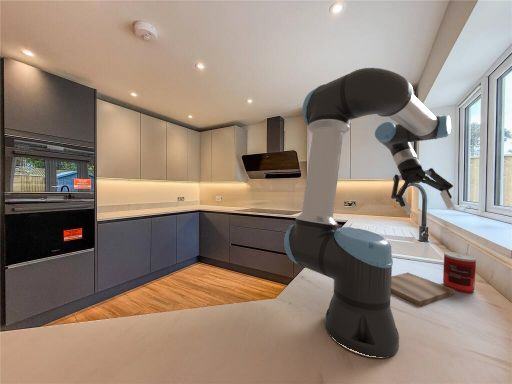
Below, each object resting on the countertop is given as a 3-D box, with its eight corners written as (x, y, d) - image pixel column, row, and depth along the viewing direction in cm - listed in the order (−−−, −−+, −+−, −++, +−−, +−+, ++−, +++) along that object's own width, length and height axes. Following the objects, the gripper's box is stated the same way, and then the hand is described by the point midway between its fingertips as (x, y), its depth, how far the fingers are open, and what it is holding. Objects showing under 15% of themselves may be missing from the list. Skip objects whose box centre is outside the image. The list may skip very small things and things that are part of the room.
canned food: (460, 282, 75) (461, 252, 74) (482, 294, 67) (483, 260, 66) (436, 281, 75) (438, 251, 75) (455, 292, 67) (457, 259, 67)
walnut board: (420, 306, 59) (420, 301, 59) (374, 284, 72) (374, 280, 72) (454, 294, 66) (454, 289, 66) (407, 276, 79) (407, 272, 79)
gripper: (437, 160, 87) (463, 208, 78) (372, 173, 93) (389, 219, 83) (446, 150, 81) (476, 201, 71) (376, 164, 86) (395, 213, 77)
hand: (429, 211), depth 77 cm, fingers open, 13 cm apart
